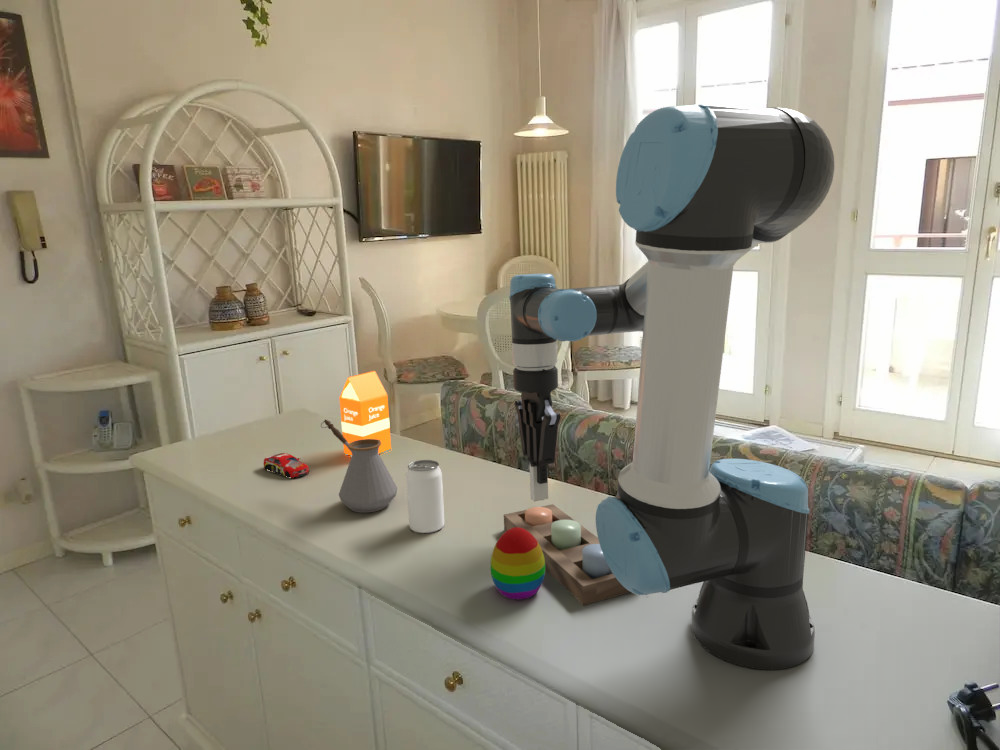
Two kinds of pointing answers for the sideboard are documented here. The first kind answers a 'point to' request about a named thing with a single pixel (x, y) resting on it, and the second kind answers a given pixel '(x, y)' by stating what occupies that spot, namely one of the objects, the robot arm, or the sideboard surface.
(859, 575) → the sideboard surface
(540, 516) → the terracotta button
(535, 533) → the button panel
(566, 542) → the sage button
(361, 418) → the orange juice
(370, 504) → the coffee pot
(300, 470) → the race car
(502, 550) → the decorative egg
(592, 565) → the slate blue button
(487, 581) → the sideboard surface
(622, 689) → the sideboard surface
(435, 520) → the can
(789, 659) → the robot arm
